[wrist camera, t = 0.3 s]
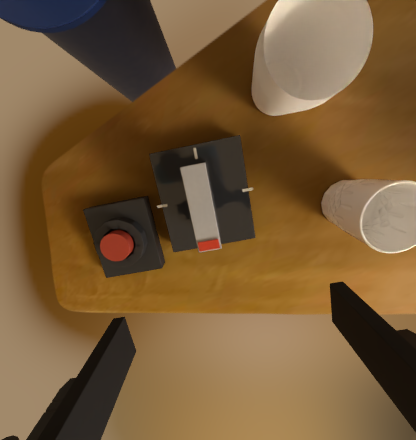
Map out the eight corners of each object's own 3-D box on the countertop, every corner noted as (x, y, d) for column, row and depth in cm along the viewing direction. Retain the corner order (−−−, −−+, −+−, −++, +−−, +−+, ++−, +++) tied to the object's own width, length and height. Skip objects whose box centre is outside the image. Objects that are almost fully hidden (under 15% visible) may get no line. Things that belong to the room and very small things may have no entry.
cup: (275, 32, 28) (320, -61, 16) (325, 83, 29) (399, 31, 18) (228, 94, 30) (238, 50, 18) (277, 139, 31) (315, 126, 19)
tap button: (90, 206, 34) (75, 212, 30) (147, 195, 33) (139, 199, 29) (112, 271, 37) (100, 284, 33) (165, 262, 36) (159, 274, 32)
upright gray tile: (188, 166, 29) (179, 167, 21) (207, 162, 29) (205, 162, 21) (202, 230, 31) (198, 253, 23) (219, 227, 31) (221, 249, 23)
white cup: (360, 165, 32) (425, 166, 22) (378, 212, 33) (446, 233, 24) (308, 191, 33) (349, 203, 23) (328, 236, 34) (373, 265, 25)
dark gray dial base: (150, 155, 32) (144, 154, 29) (241, 136, 31) (244, 133, 28) (172, 245, 35) (169, 253, 32) (255, 230, 34) (260, 237, 31)
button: (102, 232, 31) (95, 236, 29) (129, 227, 31) (124, 231, 29) (110, 258, 32) (104, 263, 30) (137, 253, 32) (132, 258, 30)
